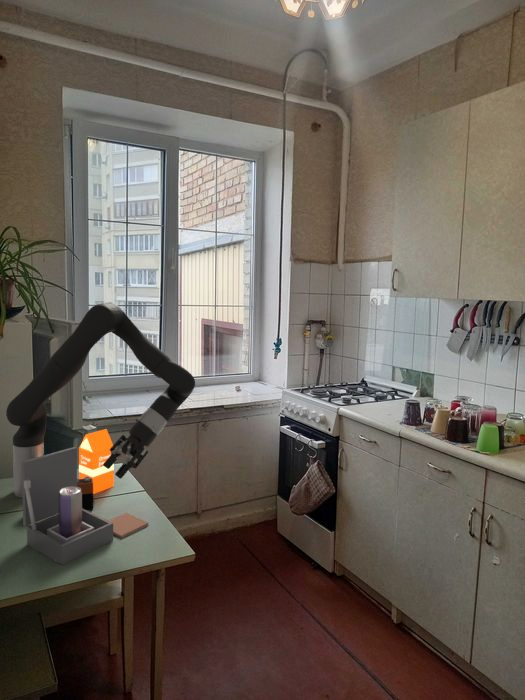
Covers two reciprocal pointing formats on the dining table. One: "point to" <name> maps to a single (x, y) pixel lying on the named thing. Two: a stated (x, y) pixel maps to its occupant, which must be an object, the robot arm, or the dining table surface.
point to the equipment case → (57, 508)
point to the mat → (126, 524)
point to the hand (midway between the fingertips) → (111, 471)
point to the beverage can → (70, 511)
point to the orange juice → (96, 460)
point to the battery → (86, 492)
